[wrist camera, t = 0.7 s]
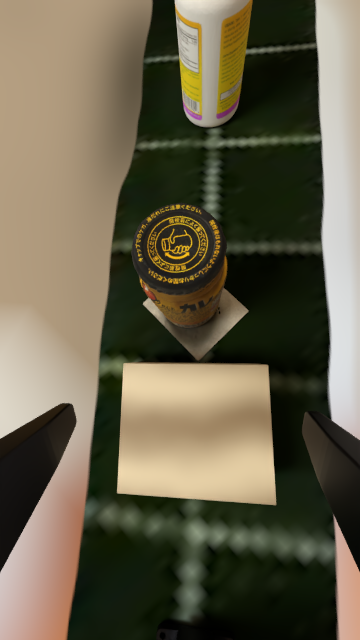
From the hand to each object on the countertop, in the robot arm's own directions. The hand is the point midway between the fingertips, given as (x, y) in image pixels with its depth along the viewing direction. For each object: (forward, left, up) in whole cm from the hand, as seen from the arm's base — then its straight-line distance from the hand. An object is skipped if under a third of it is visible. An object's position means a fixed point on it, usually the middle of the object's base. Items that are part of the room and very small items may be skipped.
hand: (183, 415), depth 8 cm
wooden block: (-3, 0, -14) cm, 14 cm away
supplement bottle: (+33, -2, -14) cm, 36 cm away
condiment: (+7, 0, -14) cm, 16 cm away
